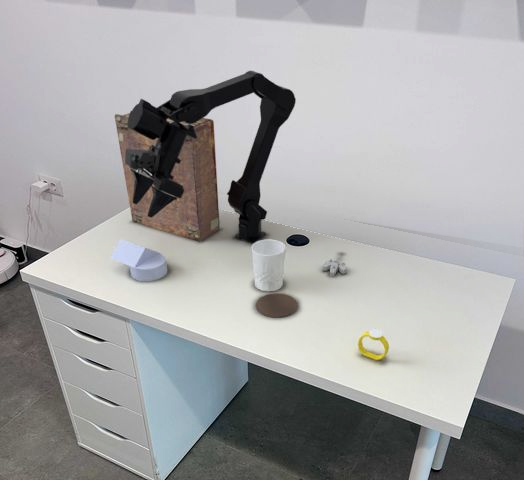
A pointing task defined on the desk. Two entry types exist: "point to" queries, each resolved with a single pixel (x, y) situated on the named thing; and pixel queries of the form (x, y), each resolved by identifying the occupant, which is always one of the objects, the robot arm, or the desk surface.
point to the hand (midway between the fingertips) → (141, 210)
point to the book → (187, 174)
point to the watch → (374, 335)
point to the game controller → (334, 266)
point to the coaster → (276, 305)
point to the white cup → (268, 264)
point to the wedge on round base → (140, 261)
